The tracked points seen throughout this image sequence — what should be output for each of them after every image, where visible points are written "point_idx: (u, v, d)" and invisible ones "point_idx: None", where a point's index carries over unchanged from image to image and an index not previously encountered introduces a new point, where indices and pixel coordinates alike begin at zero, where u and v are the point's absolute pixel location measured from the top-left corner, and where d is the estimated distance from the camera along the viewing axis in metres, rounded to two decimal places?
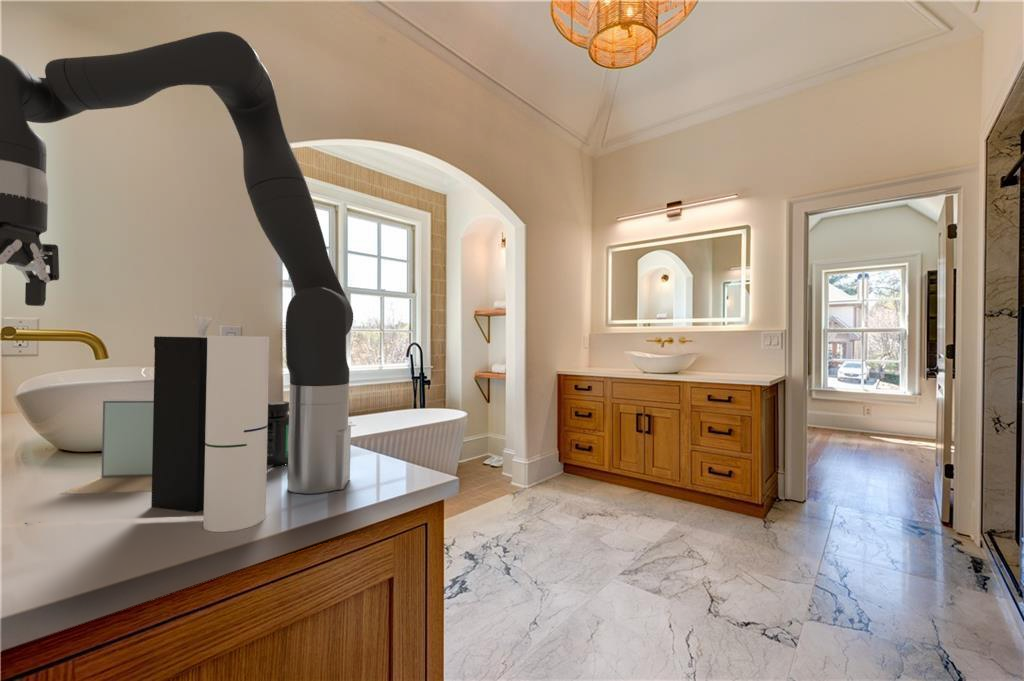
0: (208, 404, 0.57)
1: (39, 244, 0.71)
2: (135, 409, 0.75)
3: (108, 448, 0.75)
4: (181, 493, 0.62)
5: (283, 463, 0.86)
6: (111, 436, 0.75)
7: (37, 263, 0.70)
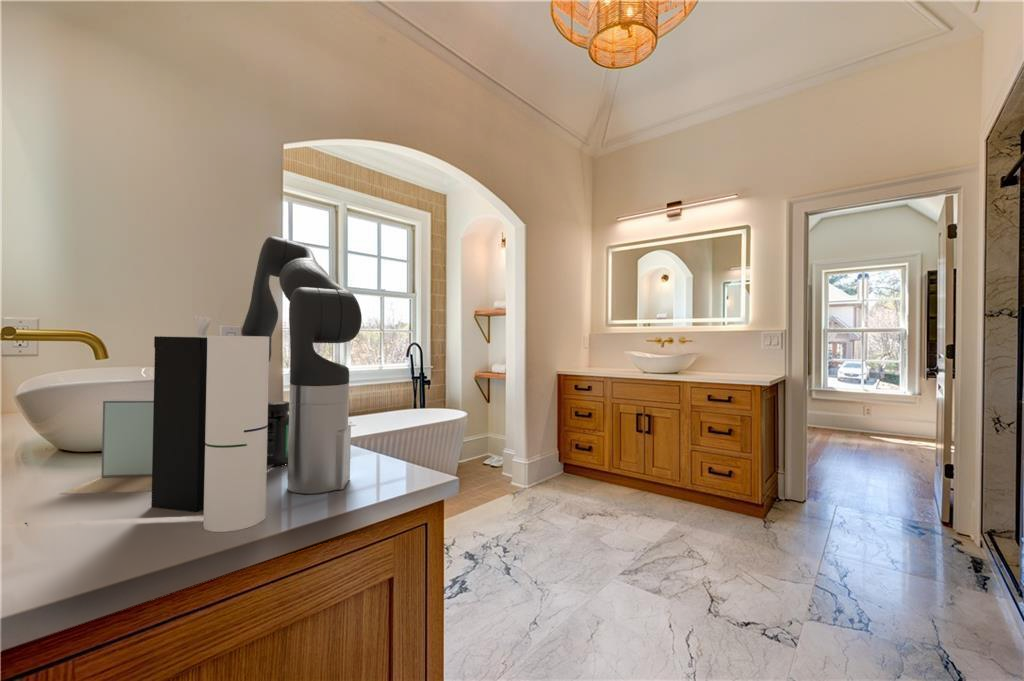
0: (208, 404, 0.57)
1: None
2: (135, 409, 0.75)
3: (108, 448, 0.75)
4: (181, 493, 0.62)
5: (283, 463, 0.86)
6: (111, 436, 0.75)
7: None
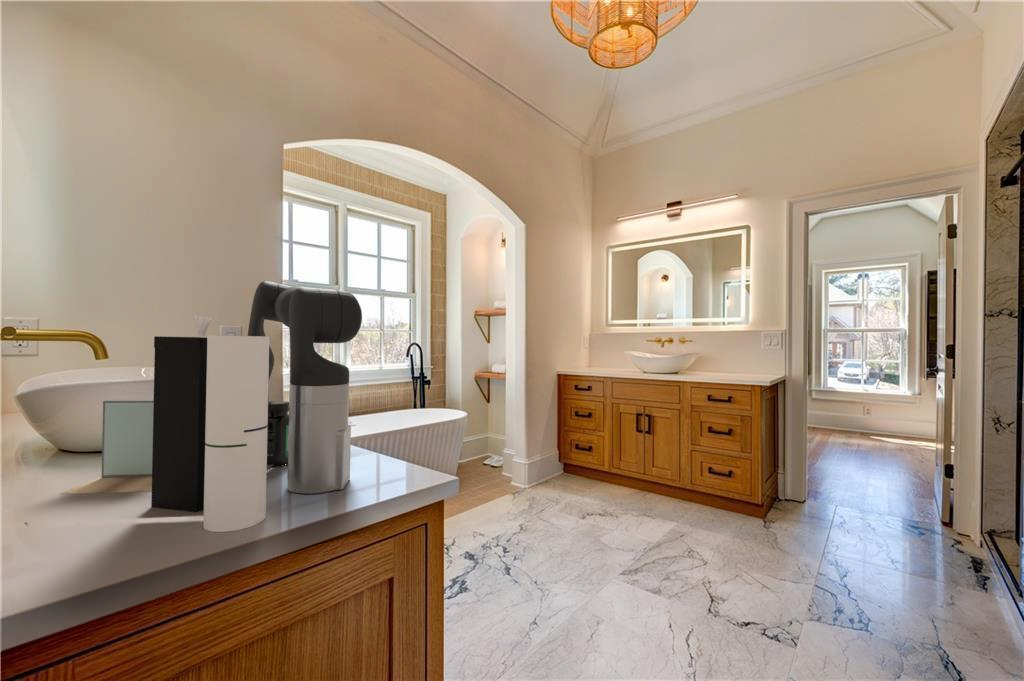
0: (208, 404, 0.57)
1: None
2: (135, 409, 0.75)
3: (108, 448, 0.75)
4: (181, 493, 0.62)
5: (283, 463, 0.86)
6: (111, 436, 0.75)
7: None
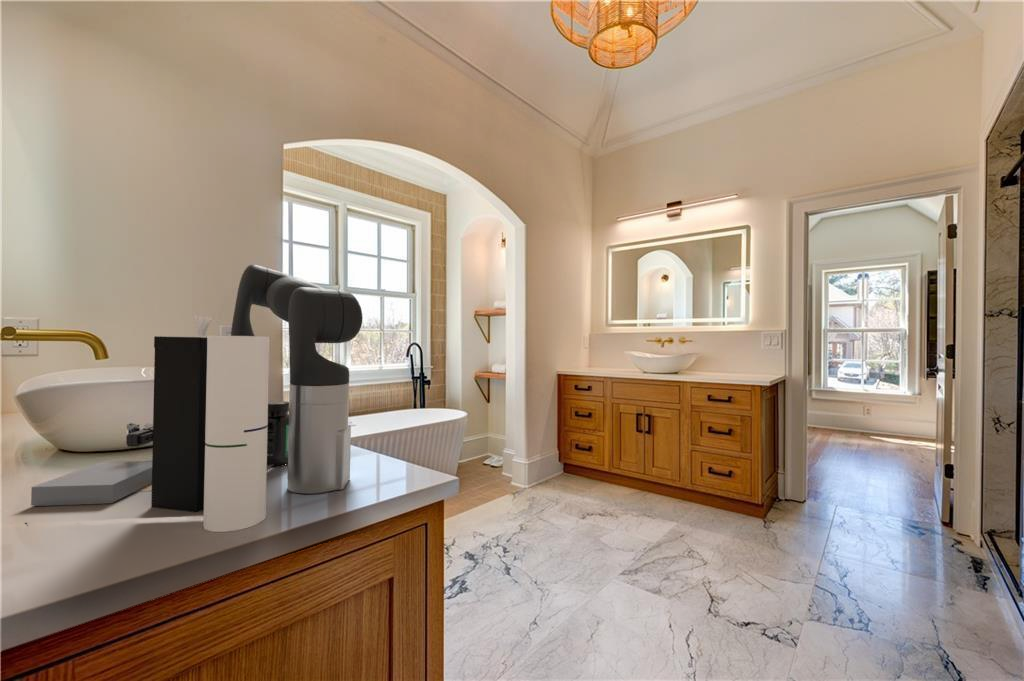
0: (208, 404, 0.57)
1: None
2: None
3: None
4: (181, 493, 0.62)
5: (283, 463, 0.86)
6: None
7: None
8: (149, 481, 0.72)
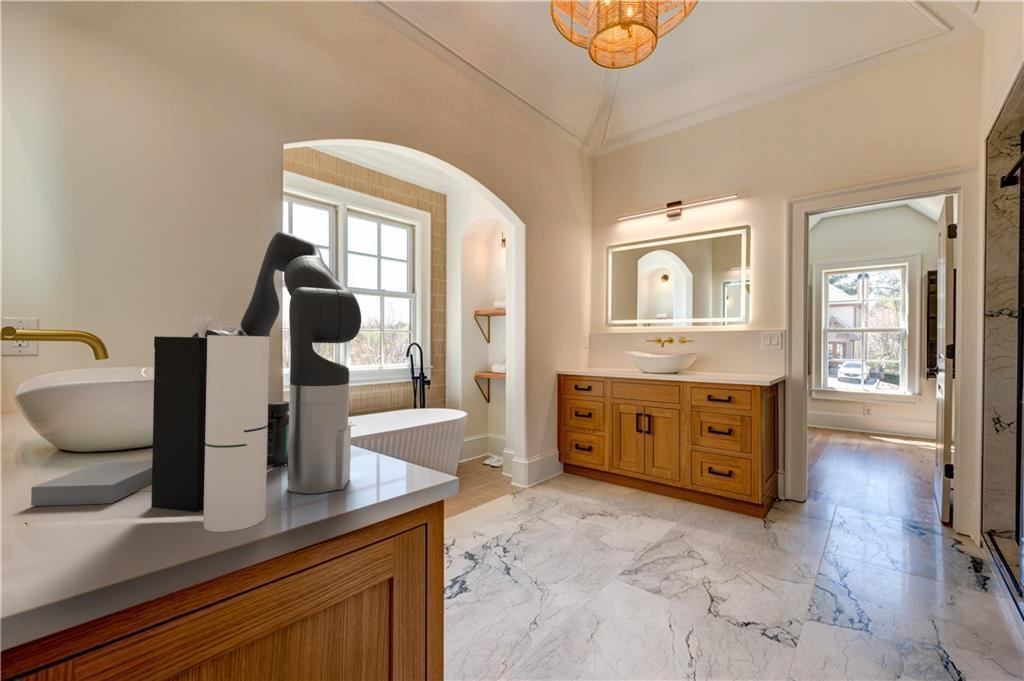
0: (208, 404, 0.57)
1: None
2: None
3: None
4: (181, 493, 0.62)
5: (283, 463, 0.86)
6: None
7: None
8: (149, 481, 0.72)
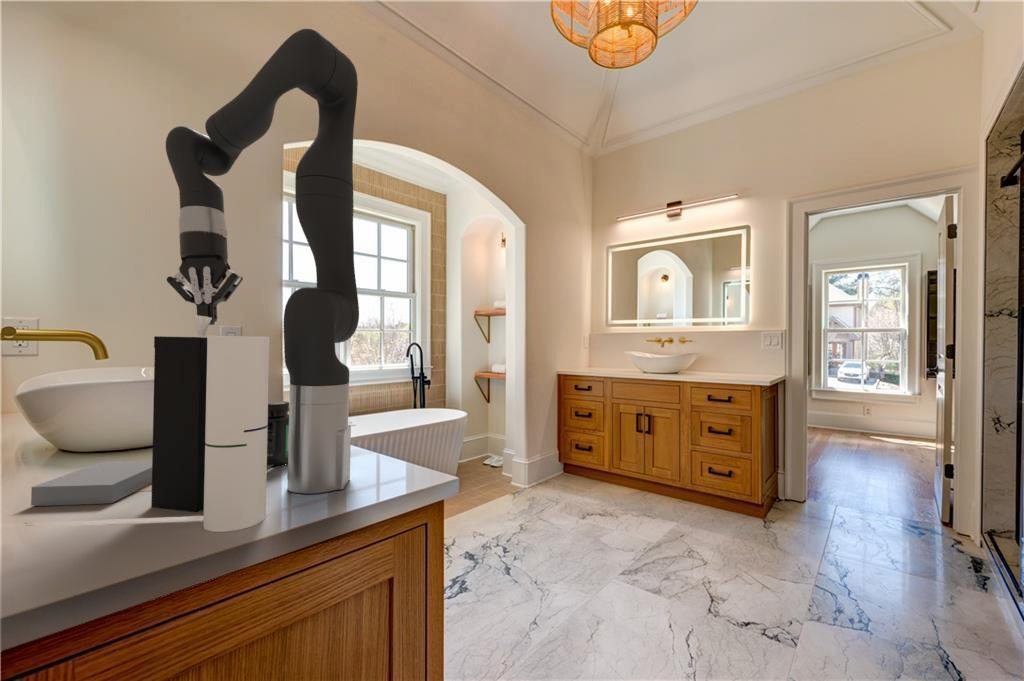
0: (208, 404, 0.57)
1: (221, 267, 0.84)
2: None
3: None
4: (181, 493, 0.62)
5: (283, 463, 0.86)
6: None
7: (204, 283, 0.83)
8: (149, 481, 0.72)
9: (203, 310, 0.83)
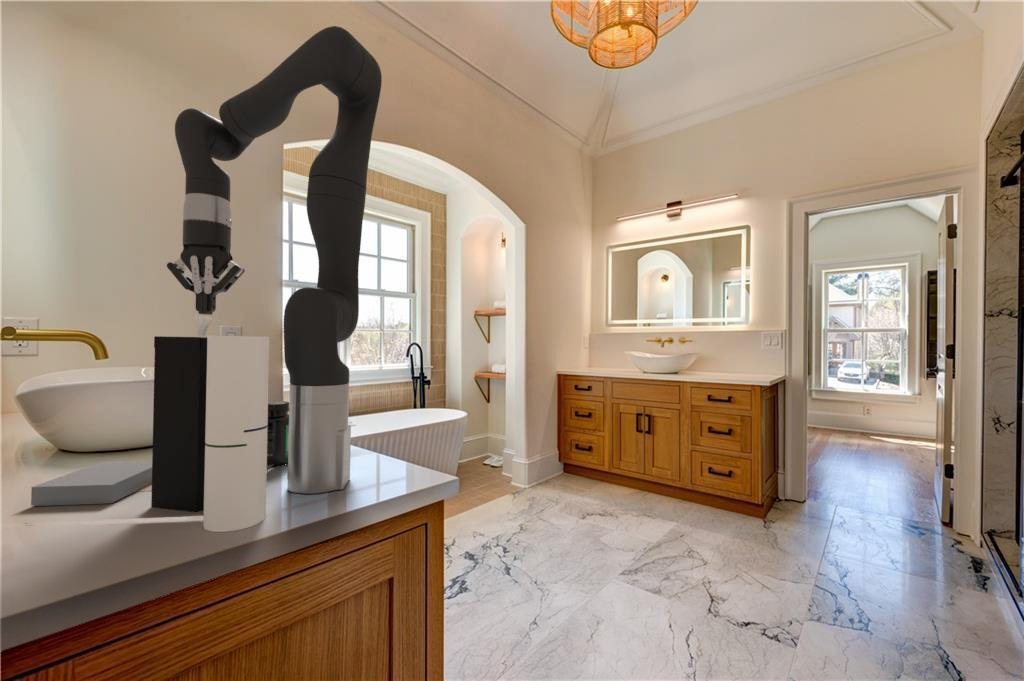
0: (208, 404, 0.57)
1: (223, 258, 0.84)
2: None
3: None
4: (181, 493, 0.62)
5: (283, 463, 0.86)
6: None
7: (205, 273, 0.83)
8: (149, 481, 0.72)
9: (202, 300, 0.83)
